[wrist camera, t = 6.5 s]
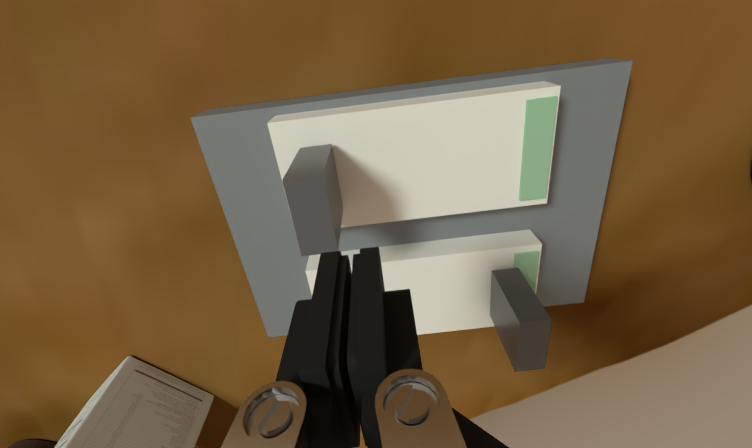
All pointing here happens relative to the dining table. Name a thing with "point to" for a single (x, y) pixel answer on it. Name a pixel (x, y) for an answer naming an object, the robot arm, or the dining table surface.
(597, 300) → the dining table surface
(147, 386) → the supplement box
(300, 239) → the breaker handle
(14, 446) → the plant pot
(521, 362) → the breaker handle
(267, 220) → the breaker panel
